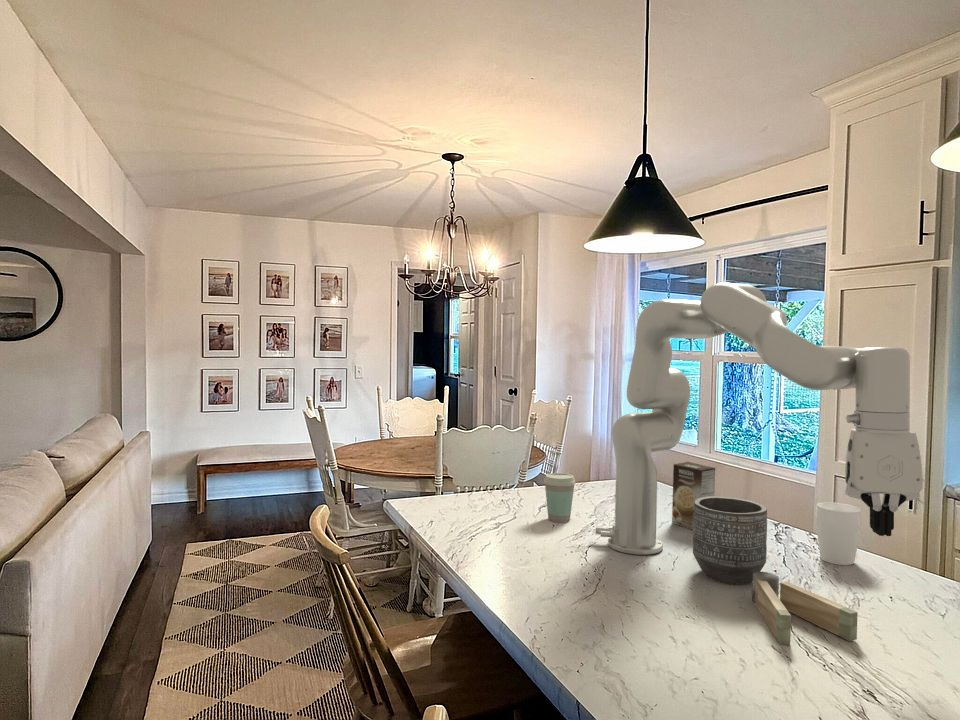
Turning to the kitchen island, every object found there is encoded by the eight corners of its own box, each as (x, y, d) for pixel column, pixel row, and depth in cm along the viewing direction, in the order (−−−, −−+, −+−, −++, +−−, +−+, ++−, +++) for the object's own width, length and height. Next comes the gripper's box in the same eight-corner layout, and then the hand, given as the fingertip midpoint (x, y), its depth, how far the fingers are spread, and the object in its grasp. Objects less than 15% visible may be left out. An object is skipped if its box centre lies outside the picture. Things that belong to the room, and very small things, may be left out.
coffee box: (670, 523, 169) (671, 463, 169) (685, 519, 173) (687, 461, 172) (699, 532, 161) (700, 469, 161) (715, 528, 165) (716, 467, 165)
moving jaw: (849, 641, 102) (850, 613, 102) (779, 606, 115) (780, 582, 115) (856, 639, 103) (857, 612, 103) (786, 605, 116) (787, 581, 116)
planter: (760, 594, 122) (761, 517, 121) (684, 579, 129) (686, 506, 129) (770, 572, 134) (772, 502, 133) (700, 559, 141) (702, 492, 141)
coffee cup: (579, 518, 173) (580, 474, 172) (566, 526, 166) (567, 480, 165) (551, 513, 177) (552, 471, 177) (537, 520, 170) (538, 476, 170)
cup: (867, 569, 136) (868, 513, 136) (821, 565, 138) (823, 511, 137) (851, 555, 145) (853, 503, 145) (808, 552, 147) (810, 500, 146)
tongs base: (778, 644, 102) (779, 613, 101) (749, 596, 120) (750, 570, 120) (807, 646, 101) (808, 615, 101) (774, 598, 120) (775, 572, 119)
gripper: (841, 424, 101) (841, 538, 101) (945, 425, 99) (944, 542, 99) (824, 419, 109) (824, 525, 109) (920, 420, 106) (920, 529, 106)
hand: (881, 533), depth 104 cm, fingers closed
